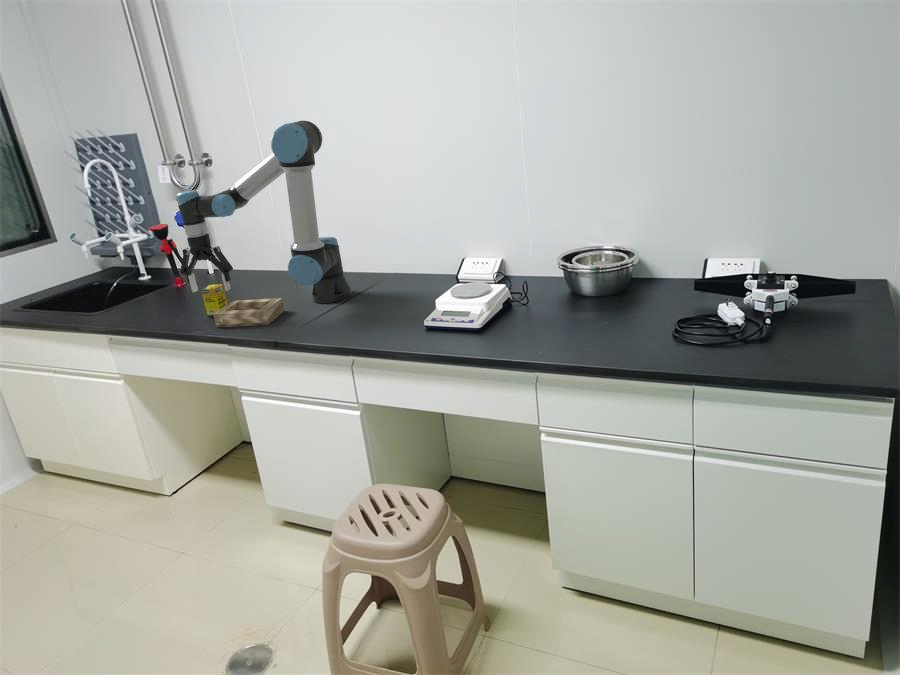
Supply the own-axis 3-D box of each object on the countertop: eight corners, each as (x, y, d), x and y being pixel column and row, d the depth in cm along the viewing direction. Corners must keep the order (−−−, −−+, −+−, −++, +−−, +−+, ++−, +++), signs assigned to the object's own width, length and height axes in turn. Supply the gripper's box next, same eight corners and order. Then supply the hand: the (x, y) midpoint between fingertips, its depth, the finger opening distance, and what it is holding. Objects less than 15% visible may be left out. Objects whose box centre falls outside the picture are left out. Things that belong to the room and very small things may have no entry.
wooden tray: (284, 310, 237) (281, 298, 236) (268, 325, 225) (264, 311, 223) (235, 313, 242) (232, 300, 240) (216, 327, 229) (213, 314, 227)
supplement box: (222, 316, 240) (214, 289, 236) (207, 317, 241) (200, 289, 237) (230, 311, 245) (222, 283, 241) (216, 311, 247) (208, 284, 243)
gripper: (233, 230, 232) (246, 286, 241) (172, 234, 238) (187, 288, 246) (223, 235, 226) (237, 292, 234) (160, 239, 231) (176, 295, 239)
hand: (211, 290), depth 240 cm, fingers open, 13 cm apart
